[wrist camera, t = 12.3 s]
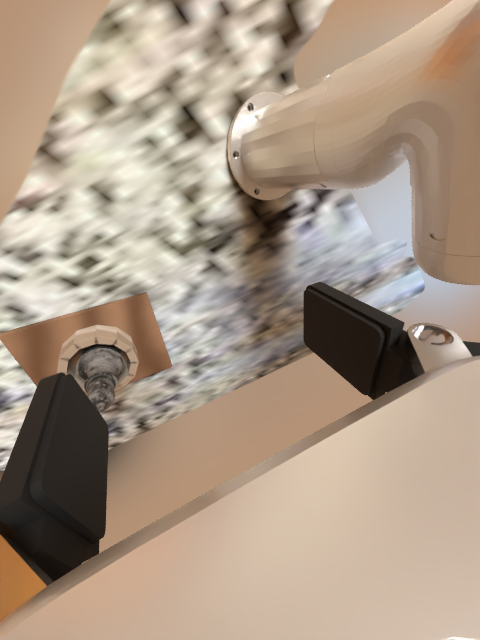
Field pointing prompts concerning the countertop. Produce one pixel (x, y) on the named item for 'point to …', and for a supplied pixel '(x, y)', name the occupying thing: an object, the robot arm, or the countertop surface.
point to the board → (92, 340)
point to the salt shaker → (100, 373)
